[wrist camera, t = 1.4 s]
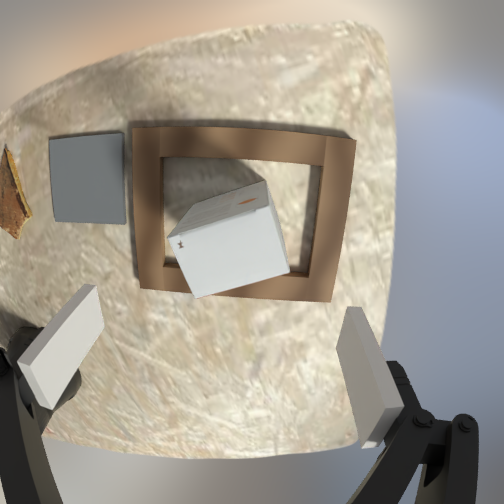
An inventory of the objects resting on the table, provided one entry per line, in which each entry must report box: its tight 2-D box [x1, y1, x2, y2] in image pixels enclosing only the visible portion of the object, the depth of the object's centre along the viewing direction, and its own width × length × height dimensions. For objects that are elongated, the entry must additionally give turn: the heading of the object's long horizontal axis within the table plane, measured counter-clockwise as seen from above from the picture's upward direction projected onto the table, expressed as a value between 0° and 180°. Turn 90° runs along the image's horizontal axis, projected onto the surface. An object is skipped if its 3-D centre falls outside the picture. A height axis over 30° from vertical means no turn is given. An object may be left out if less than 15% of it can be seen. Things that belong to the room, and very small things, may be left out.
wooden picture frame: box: [132, 127, 356, 302], centre depth 32 cm, size 22×18×1 cm
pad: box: [49, 133, 126, 225], centre depth 30 cm, size 10×10×1 cm
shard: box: [0, 148, 32, 240], centre depth 31 cm, size 11×8×2 cm
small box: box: [167, 180, 290, 299], centre depth 27 cm, size 8×6×10 cm
